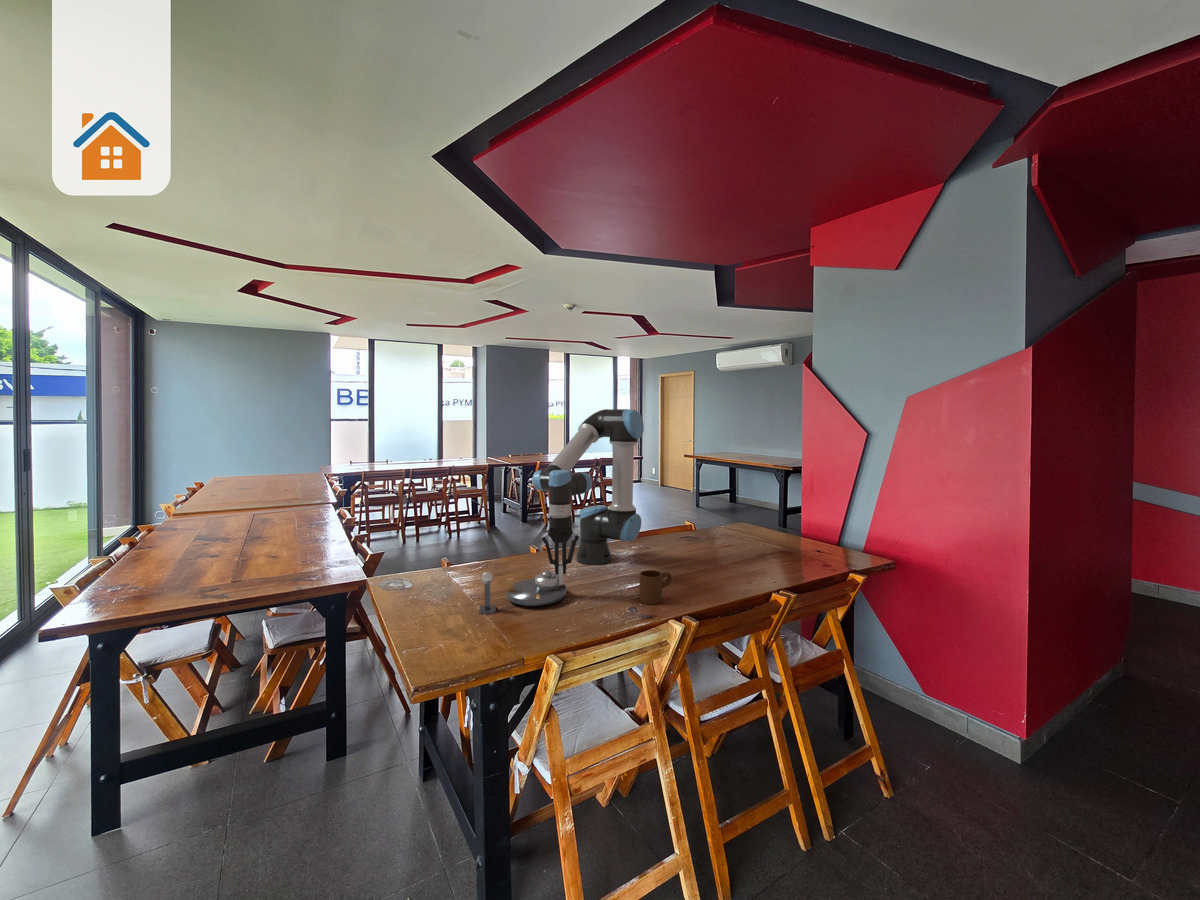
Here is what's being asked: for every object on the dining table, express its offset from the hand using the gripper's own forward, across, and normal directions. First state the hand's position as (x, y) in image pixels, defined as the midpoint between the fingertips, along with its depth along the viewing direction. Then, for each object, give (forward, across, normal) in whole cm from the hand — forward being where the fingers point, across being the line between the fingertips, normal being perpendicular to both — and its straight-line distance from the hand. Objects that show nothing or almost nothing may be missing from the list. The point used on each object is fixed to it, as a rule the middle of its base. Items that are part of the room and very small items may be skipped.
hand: (560, 583), depth 169 cm
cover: (+2, -5, 0) cm, 5 cm away
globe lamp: (+5, -24, -8) cm, 26 cm away
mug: (+5, +32, -8) cm, 33 cm away
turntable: (+4, -8, 0) cm, 9 cm away
